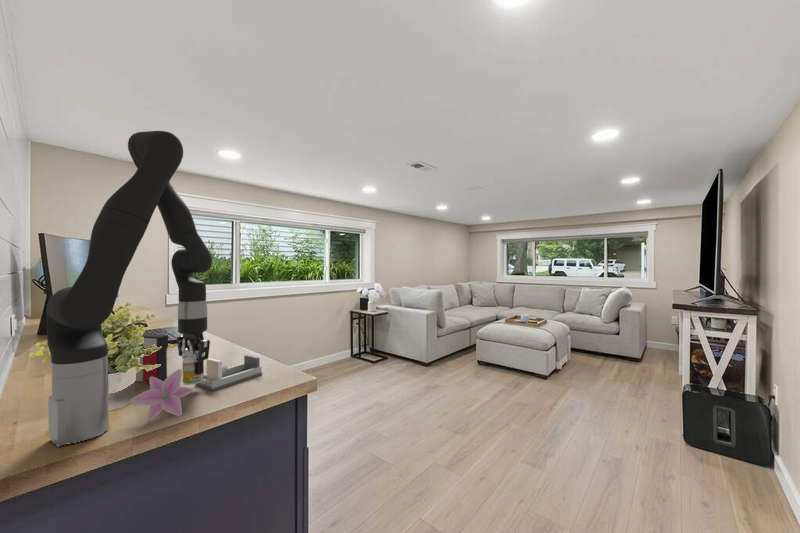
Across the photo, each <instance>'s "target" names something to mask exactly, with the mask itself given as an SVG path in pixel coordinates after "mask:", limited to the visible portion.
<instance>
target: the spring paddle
mask: <svg viewBox="0 0 800 533" xmlns="http://www.w3.org/2000/svg"><path fill="white" fill-rule="evenodd" d="M205 367H206V368H205V369H206V370H205V371H206V373H205V374H207V380H209V381H213V380H217V379H220V378H222V373H226V372H227V368H228V367H227V365H226V364H223V361H222V360H219V359H215V358H212V357H208V359H206V366H205Z"/></svg>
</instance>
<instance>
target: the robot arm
mask: <svg viewBox="0 0 800 533" xmlns="http://www.w3.org/2000/svg"><path fill="white" fill-rule="evenodd" d="M127 148H128V152H129V156H130V157H131V159H132V162H133V163H134V165H135V167H136V169H137V170H136V171H135V173H134V174H133V175H132V176H131V177H130V178H129V179H128V180H127V181H126V182H125V183H124V184H123V185H122V186H120V187H119V188H118V189H117V190H116V191H115V192H113V193H112V195H111V196H110V197H109V198H107V200H106V202H105V203H104V204H103V206H102V208H101V210H100V212H99V214H98V216H97V218H96V220H95V221H94V225H93V226H92V230H91V234H90V239H89V247H88V248H89V249H88V255H87V259H86V262H85V264H84V266H83V269H82V270H81V272H80V273H79V275H78V277H77V279H76V280H75V282H74V283H73V285H72V286H68V287H67V286H66V287H64V288H62V289H60V290H58V291H56V292H54V293H53V295H51V297H50V298H49V300H48V301H47V305H46V311H45V316H46V317H45V319H46V322H45V323H46V339H47V340H46V341H47V347H48V348H47V349H48V350H49V352H50V353H49V354H50V363H51V365H50V366H51V367H50V368H51V395H49V396H48V400H47V402H48V439H49V438H50V439H51V440H52V441H53V442H54V443H55V444H56V445H58V446H61V445H64V444H67V443H74V442H79V441H83V440H86V439H90V438H92V439H94V438H93V437H95V438H97V437H99V436H101V435H103V434H105V433H106V432H107V431H108V430H109V429H108V428H110V417H109V416H110V412H109V411H110V409H109V408H110V404H109V403H110V402H109V399H110V398H109V345H108V342H107V340H106V339H105V338H104V335H103V331H102V324H103V323H104V322H105V321H107V320H108V318H110V316H111V313H112V312H113V310H114V307H115V303H116V300H117V298H118V294H119V291H120V287H121V284H122V281H123V279H124V275H125V273H126V271H127V269H128V268H129V266H130V263H131V262H132V259H133V258H134V255H135V254H136V251H137V249H138V247H139V245H140V242H141V241H142V239H143V237H144V235H145V233H146V231H147V228H148V227H149V224H150V222H151V219H152V217H153V214H154V212H155V210H156V208H158V210H159V212H160V215H161V218H162V220H163V223H164V227H165V229H166V232H167V235H168V237H169V240H170V242H171V243H172V244H175V245H178V246H181V247H183V249H178V250H176V251H175V252H174V253H173V255H172V256H171V257H172V258H171V269H172V272H173V275H174V278H175V282H176V285H177V287H178V307H177V332H178V334H181V335H179V336H177V337H176V341H177V342H176V343H177V353H178V356H179V357H181V359H182V360H183V359H184V358H185V357H186V356H185V351H186V350H190V352H191V355H193V357H194V361H195V362H194V373H195V374H196V375H198V374H202V373H203V361H204V362H205V360H206V359H208V358H209V353H210V347H211V346H210V344H211V341H210V340H211V339H205V338H204V332H206V331H207V330H208V304H207V286H206V283H205V282H204V281H202V280H199V279H196V277H195V275H194V274H195V273H196V274H197V273H198V274H203V273H206V272H208V271H210V269H211V267H212V265H213V257H212V254H211V252H210V251H209V248H208V246H207V245H206V244H205V242H204V241H203V239H202V238H201V236H200V235H199V234H198V231H197V228H196V223H195V221H194V217H193V216H192V213H191V211H190V208H189V207H188V206H187V204H186V203H185V202H184V200H183V198H181V197H180V195H179V194H178V193H177V191H176V190H175V189H174V186H173V185H172V184H171V180H172V178H173V176H174V175H175V173H176V172H177V170H178V168H179V167H180V165H181V163H182V161H183V158H184V146H183V144H182V141H181V140H180V138H179V137H178V136H177V135H176V134H174V133H173V132H170V131H165V130H149V131H139V132H135V133H133V134H132V135H130V137H129V139H128V141H127ZM195 350H199V351H195ZM197 354H198V357H197ZM105 431H106V432H105ZM104 432H105V433H104ZM96 436H97V437H96ZM90 440H91V439H90ZM83 442H84V441H83ZM79 443H80V442H79ZM55 444H54V445H55ZM56 445H55V446H56ZM64 446H65V445H64ZM61 447H62V446H61Z"/></svg>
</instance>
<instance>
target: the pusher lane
mask: <svg viewBox="0 0 800 533" xmlns="http://www.w3.org/2000/svg"><path fill="white" fill-rule="evenodd" d="M243 360H244V361H243V362H244V363H240V364H237V365H236V364H235V365H233V366H229V367H227V372H226V373H222V378H220V379H217V380H213V381H209V380H207V373H204V380H203V381H202V382H201V383H198V384H194V385H196V386H198V387H201V388H204V389H207V390H210V391H213V392H214V391H218V390H220V389H221V390H222V389H223V388H226V387H229V386H232V385H235V384H238V383H242V382H244V381H247V380H250V378H251V379H253V377H254V378H256V376H257V377H259V376H258V375H260V376H262V375H263V372H262V366H260V361H261V360H260V357H257V356H253V355H249V354H245V355H244V357H243ZM261 374H262V375H261Z"/></svg>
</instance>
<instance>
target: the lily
mask: <svg viewBox="0 0 800 533" xmlns="http://www.w3.org/2000/svg"><path fill="white" fill-rule="evenodd" d="M182 377H183V369H182V368H179V369H177V370H175V371H174V372H173V373H171V374H170V375H168V376H167V378H166V379H165V380H164V381H162V380H160V379H158V378H155V377H150V379H149V381H150V383H149V389H148V390H145V391H143V392H141V393H139V394H137V395H135V396H134V397H132V398H131V399H130V400H129V402H130V403H132V404H137V405H141V406H142V405H143V406H149V408H148V414H147V421H148V420H149V421H152V420H153V419H154V418H155V417H157V416H158V415H159V414H160V413H162V411H163V410H164V411H165V412H166V413H167V412H168V413H169V414H172V415H174V416H178V417H181V416H182V413H183V408H182V401H181V398H183V397H185V396H187V395H189V394H191V393H193V392H194V389H193V388H191V387H185V386H181V381H182Z"/></svg>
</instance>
